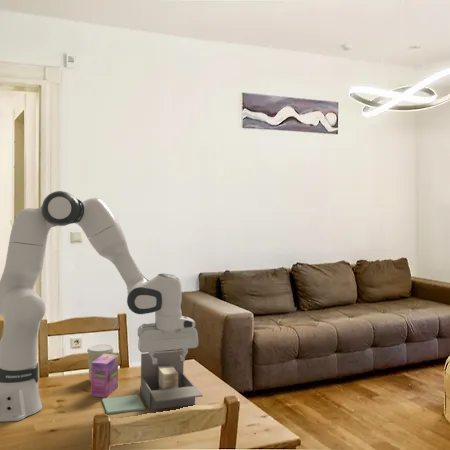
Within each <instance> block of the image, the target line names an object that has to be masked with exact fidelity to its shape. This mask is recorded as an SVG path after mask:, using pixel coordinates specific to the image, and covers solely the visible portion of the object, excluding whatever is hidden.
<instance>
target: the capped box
mask: <svg viewBox="0 0 450 450" xmlns="http://www.w3.org/2000/svg"><path fill="white" fill-rule="evenodd" d="M171 388H178V372H177V371H176V370H175V369H174V367H173V366H172V365H167V366H157V390H162V389H171Z"/></svg>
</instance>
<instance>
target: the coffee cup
mask: <svg viewBox="0 0 450 450" xmlns="http://www.w3.org/2000/svg"><path fill="white" fill-rule="evenodd" d="M103 354H113V355H114V347H113V346H112V345H109V344H94V345H91V346H88V348H87V362H88V363H87V364H88V365H87V366H88V375H89V381H90V383H91V365H92V362H93V361H94V360H96V359H97V358H99V357H100V356H102V355H103Z"/></svg>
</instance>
